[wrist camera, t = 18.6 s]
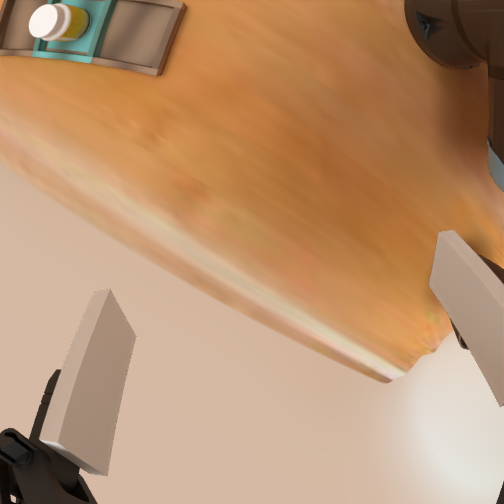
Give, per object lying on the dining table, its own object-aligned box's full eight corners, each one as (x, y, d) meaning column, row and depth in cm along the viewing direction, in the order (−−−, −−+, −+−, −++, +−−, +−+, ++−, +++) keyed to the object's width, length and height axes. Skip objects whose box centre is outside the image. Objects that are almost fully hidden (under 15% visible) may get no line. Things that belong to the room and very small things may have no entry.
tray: (0, 53, 27) (-11, 54, 25) (17, -6, 23) (6, -8, 20) (161, 75, 34) (156, 75, 31) (186, 6, 29) (183, 2, 26)
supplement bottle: (90, 3, 26) (59, -7, 19) (94, 33, 28) (63, 30, 21) (58, 16, 26) (24, 12, 19) (62, 46, 29) (28, 47, 22)
